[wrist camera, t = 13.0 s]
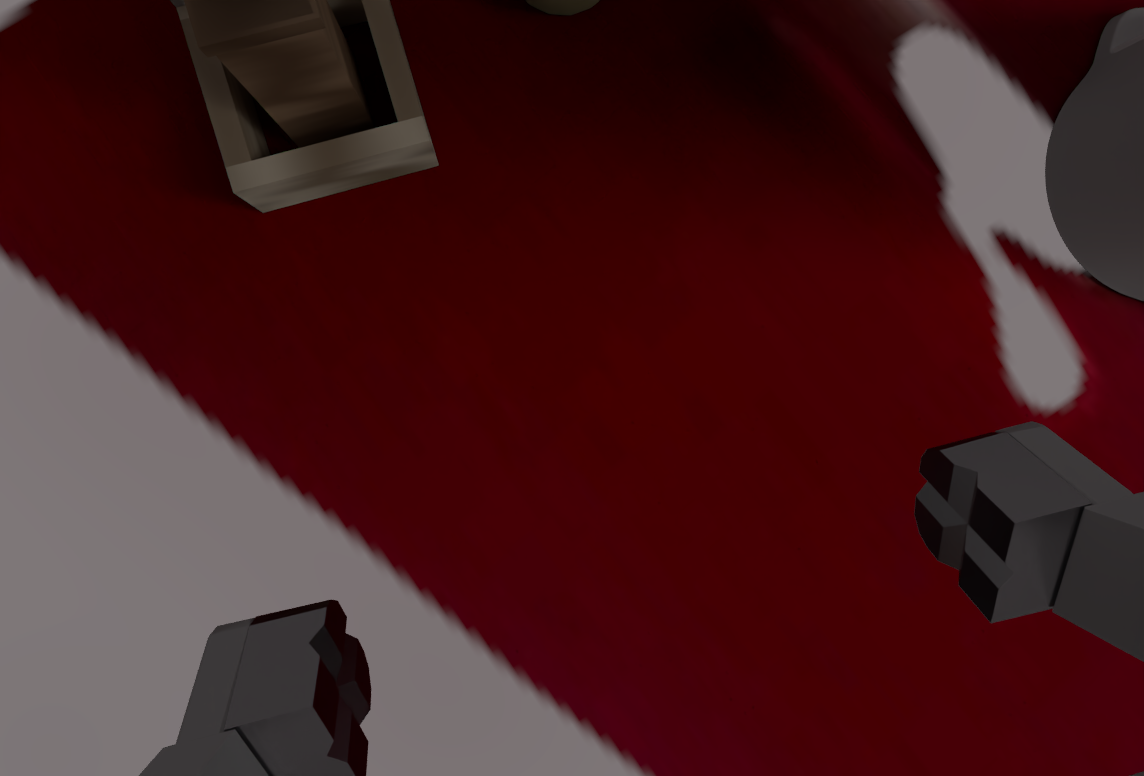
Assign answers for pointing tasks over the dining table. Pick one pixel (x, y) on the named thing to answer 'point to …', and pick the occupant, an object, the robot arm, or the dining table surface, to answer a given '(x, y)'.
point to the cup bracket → (325, 162)
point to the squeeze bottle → (562, 6)
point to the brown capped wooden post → (287, 63)
